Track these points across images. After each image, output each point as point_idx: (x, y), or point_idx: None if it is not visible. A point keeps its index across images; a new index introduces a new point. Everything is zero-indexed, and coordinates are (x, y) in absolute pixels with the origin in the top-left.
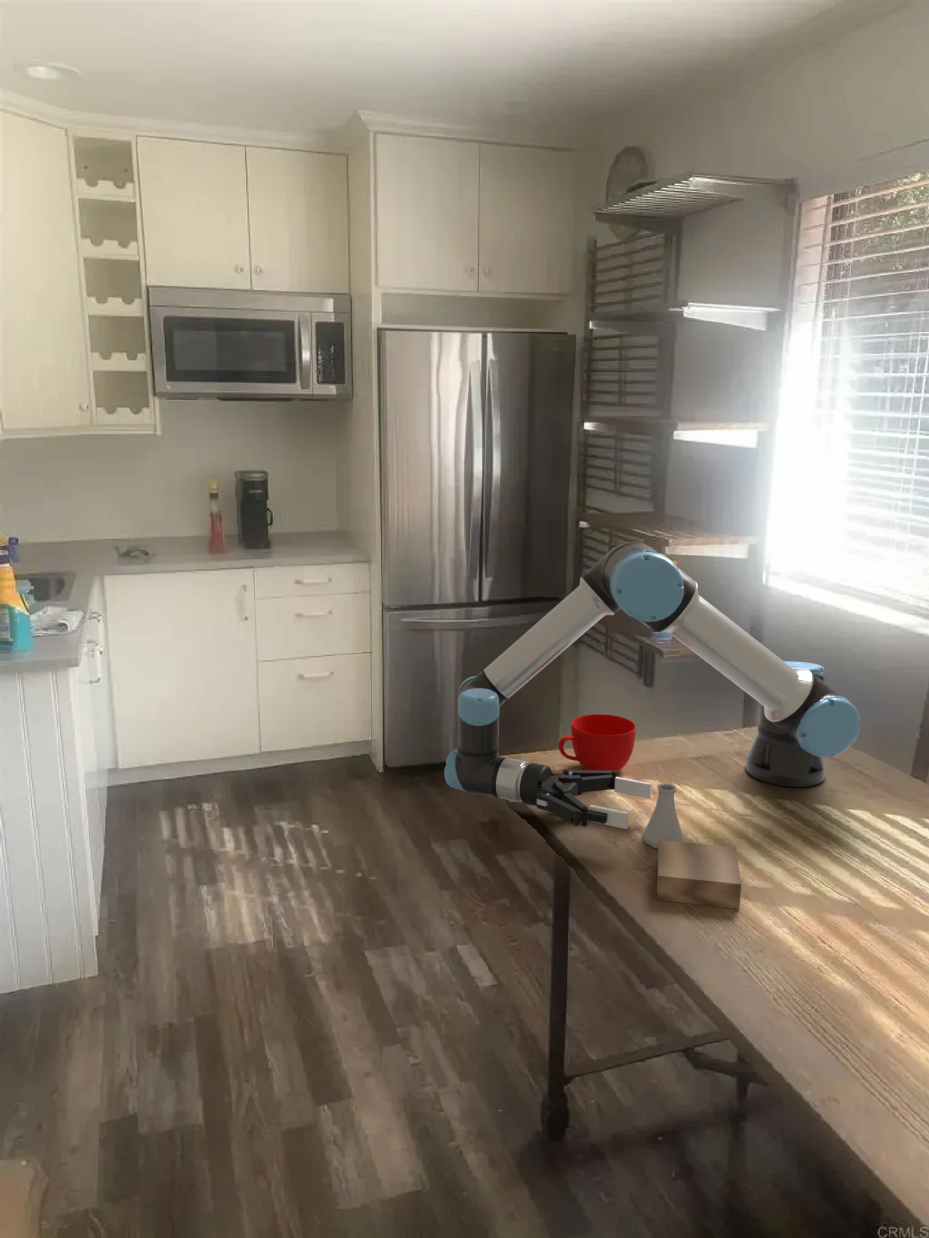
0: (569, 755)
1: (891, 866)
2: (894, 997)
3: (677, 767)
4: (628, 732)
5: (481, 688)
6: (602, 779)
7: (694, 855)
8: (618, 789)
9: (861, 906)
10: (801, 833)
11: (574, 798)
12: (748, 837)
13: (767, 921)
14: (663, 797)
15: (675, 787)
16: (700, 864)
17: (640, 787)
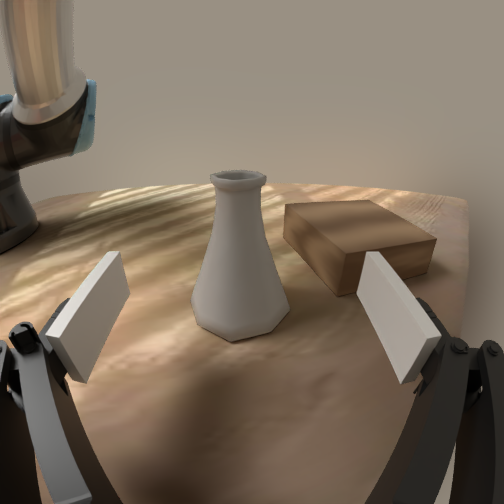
0: None
1: (200, 188)
2: (377, 191)
3: None
4: None
5: None
6: (56, 395)
7: (350, 222)
8: (85, 362)
9: (283, 193)
10: (147, 215)
11: (432, 434)
12: (172, 237)
13: None
14: (260, 197)
15: (231, 170)
16: (366, 217)
17: (110, 284)
